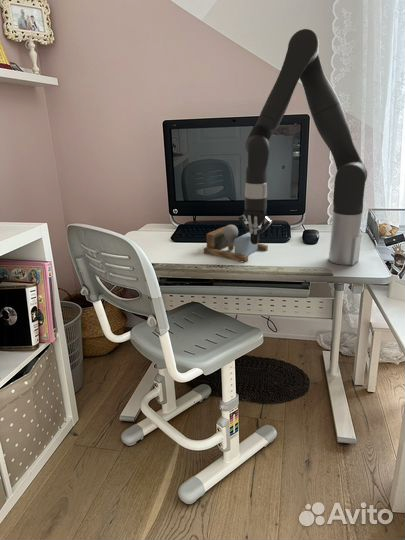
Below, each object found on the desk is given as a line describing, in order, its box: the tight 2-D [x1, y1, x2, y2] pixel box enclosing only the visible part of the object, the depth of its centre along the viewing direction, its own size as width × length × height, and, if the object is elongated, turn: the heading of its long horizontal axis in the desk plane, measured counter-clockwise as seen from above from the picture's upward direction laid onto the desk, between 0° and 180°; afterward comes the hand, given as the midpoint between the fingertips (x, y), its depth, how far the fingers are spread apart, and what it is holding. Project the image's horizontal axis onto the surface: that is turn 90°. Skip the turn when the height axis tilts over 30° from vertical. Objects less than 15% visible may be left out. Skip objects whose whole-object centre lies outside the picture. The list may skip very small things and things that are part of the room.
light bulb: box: [224, 224, 239, 252], centre depth 159 cm, size 5×6×10 cm
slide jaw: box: [233, 232, 259, 256], centre depth 156 cm, size 3×12×7 cm, turn 143°
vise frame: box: [203, 226, 269, 263], centre depth 158 cm, size 18×16×7 cm
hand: (254, 243), depth 153 cm, fingers closed
